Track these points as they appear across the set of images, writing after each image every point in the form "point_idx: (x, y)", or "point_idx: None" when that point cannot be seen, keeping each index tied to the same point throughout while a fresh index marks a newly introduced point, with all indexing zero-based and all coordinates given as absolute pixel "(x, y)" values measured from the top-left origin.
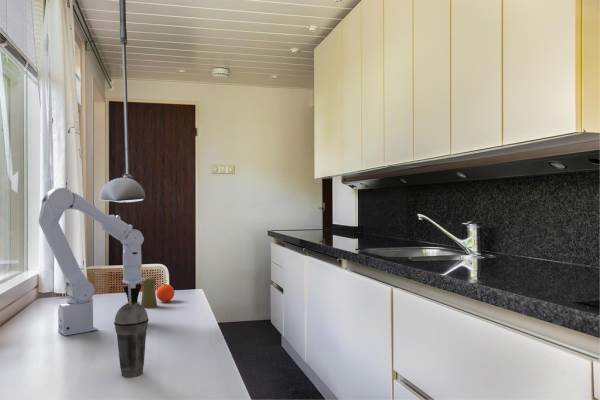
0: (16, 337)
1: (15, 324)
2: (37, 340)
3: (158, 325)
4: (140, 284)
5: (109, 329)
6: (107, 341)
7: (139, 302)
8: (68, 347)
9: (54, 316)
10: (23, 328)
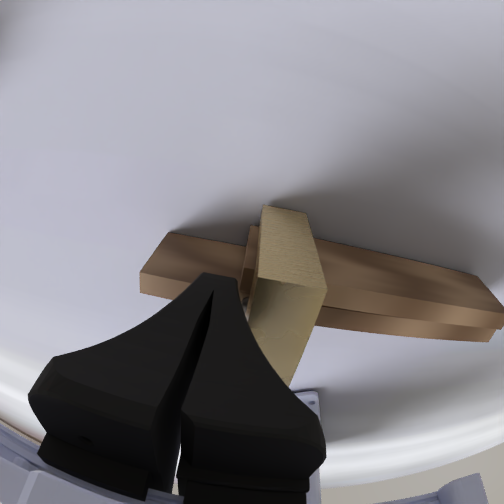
0: None
1: None
2: None
3: (428, 130)
4: (90, 420)
5: (329, 356)
6: (484, 360)
7: (296, 290)
8: (443, 425)
9: None
10: None
